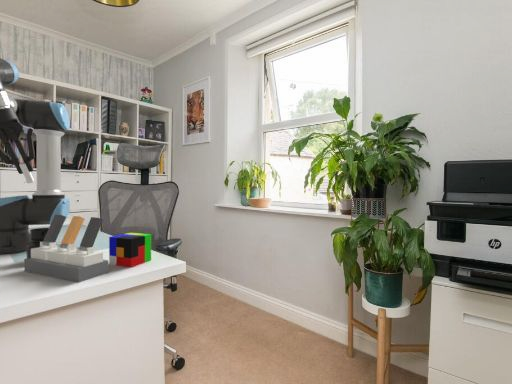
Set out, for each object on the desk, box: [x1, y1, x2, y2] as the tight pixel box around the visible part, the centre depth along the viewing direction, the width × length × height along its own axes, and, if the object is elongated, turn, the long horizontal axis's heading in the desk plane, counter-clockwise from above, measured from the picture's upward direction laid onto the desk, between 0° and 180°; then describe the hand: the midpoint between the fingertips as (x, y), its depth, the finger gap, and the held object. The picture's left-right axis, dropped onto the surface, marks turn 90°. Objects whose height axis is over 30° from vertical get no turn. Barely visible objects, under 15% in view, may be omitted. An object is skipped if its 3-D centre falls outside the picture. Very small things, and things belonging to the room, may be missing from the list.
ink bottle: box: [25, 227, 58, 259], centre depth 104 cm, size 10×9×12 cm
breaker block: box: [23, 215, 109, 283], centre depth 92 cm, size 10×26×18 cm, turn 68°
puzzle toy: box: [108, 232, 152, 268], centre depth 104 cm, size 10×10×10 cm
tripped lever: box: [60, 215, 86, 249], centre depth 94 cm, size 2×3×11 cm, turn 68°
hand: (31, 181), depth 93 cm, fingers closed
